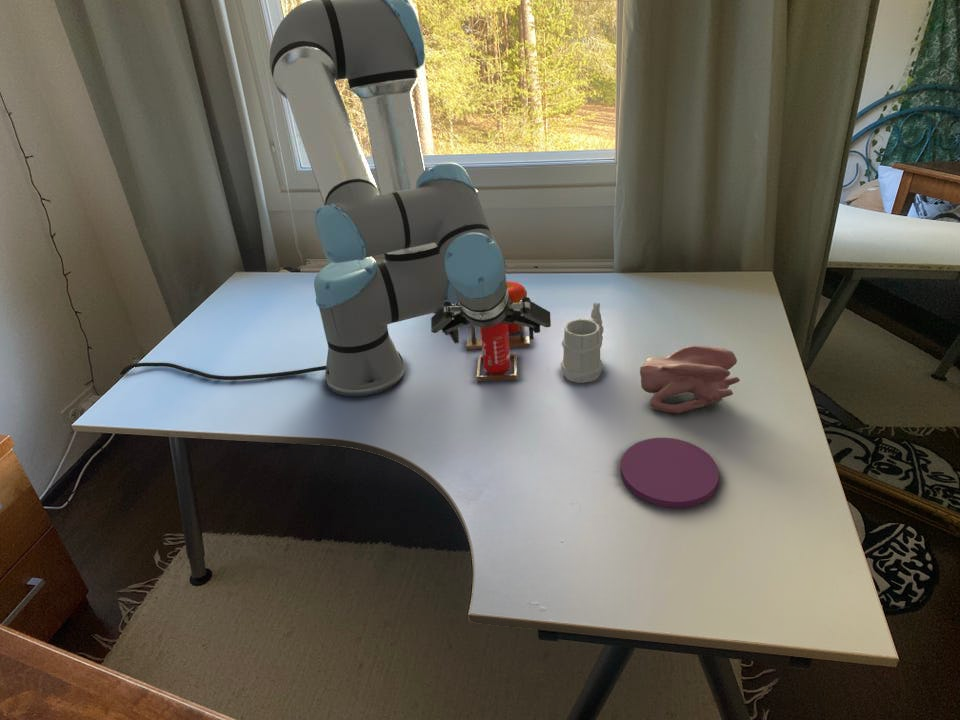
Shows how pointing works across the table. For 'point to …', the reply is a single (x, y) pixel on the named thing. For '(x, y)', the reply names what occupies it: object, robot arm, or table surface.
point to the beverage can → (496, 349)
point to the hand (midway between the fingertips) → (493, 334)
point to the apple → (515, 300)
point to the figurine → (689, 377)
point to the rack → (513, 342)
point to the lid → (669, 472)
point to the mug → (583, 348)
